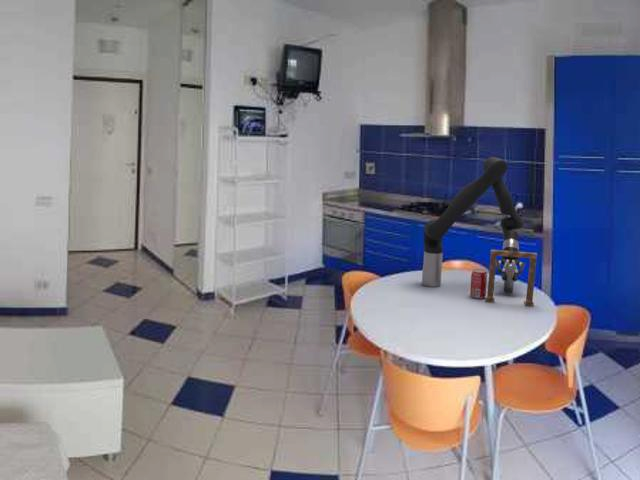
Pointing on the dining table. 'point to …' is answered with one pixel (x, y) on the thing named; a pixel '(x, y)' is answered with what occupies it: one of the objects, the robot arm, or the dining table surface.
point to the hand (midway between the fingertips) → (509, 280)
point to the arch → (530, 277)
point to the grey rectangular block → (509, 278)
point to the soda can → (478, 283)
